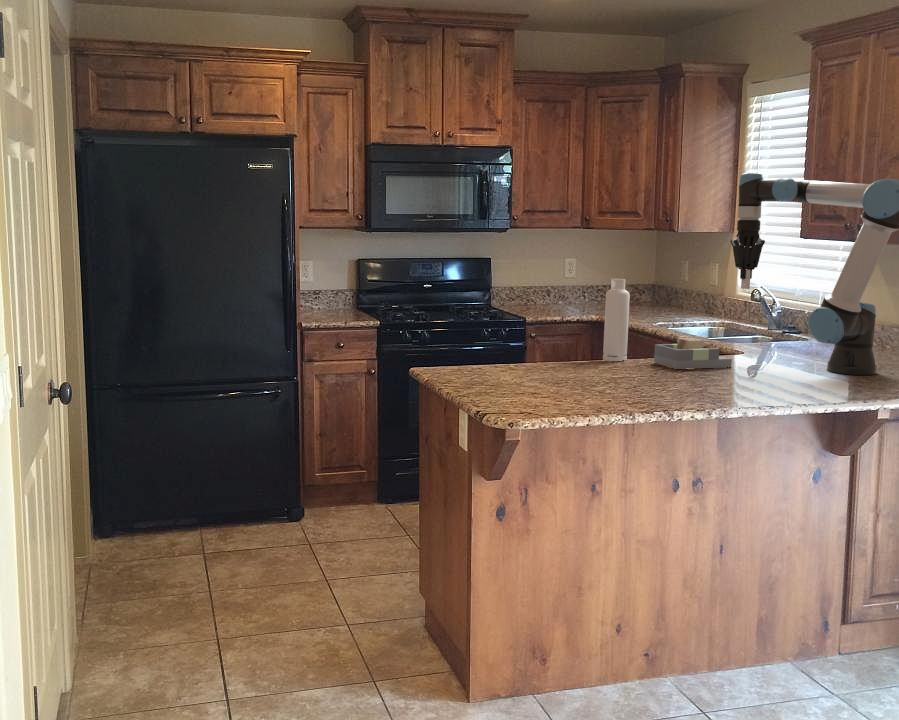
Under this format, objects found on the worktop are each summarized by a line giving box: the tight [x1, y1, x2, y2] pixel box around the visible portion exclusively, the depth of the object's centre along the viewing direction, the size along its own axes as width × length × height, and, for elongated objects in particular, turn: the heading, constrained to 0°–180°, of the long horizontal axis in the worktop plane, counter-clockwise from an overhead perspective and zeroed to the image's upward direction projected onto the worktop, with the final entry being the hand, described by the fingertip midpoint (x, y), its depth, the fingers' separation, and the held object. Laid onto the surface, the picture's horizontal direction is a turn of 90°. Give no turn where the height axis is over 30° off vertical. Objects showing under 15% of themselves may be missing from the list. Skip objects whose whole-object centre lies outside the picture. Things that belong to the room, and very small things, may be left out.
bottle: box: [602, 278, 631, 362], centre depth 337 cm, size 8×8×28 cm
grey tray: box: [653, 343, 732, 370], centre depth 329 cm, size 14×21×6 cm, turn 109°
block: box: [676, 337, 704, 349], centre depth 328 cm, size 6×6×6 cm
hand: (745, 288), depth 337 cm, fingers closed
